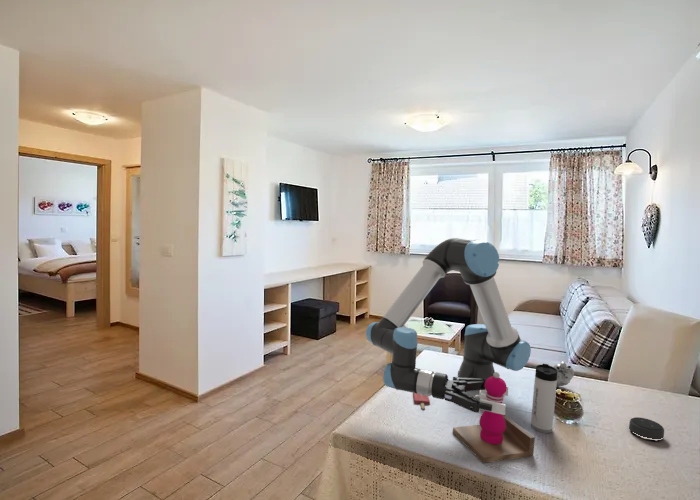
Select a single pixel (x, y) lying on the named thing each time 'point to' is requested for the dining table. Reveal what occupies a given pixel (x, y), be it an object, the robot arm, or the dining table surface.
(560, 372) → the grey rounded lump
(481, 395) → the teacup
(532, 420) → the travel mug
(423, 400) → the popsicle
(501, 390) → the pepper mill
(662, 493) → the dining table surface
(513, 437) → the spice board
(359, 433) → the dining table surface
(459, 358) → the dining table surface
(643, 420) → the smart speaker
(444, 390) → the robot arm
